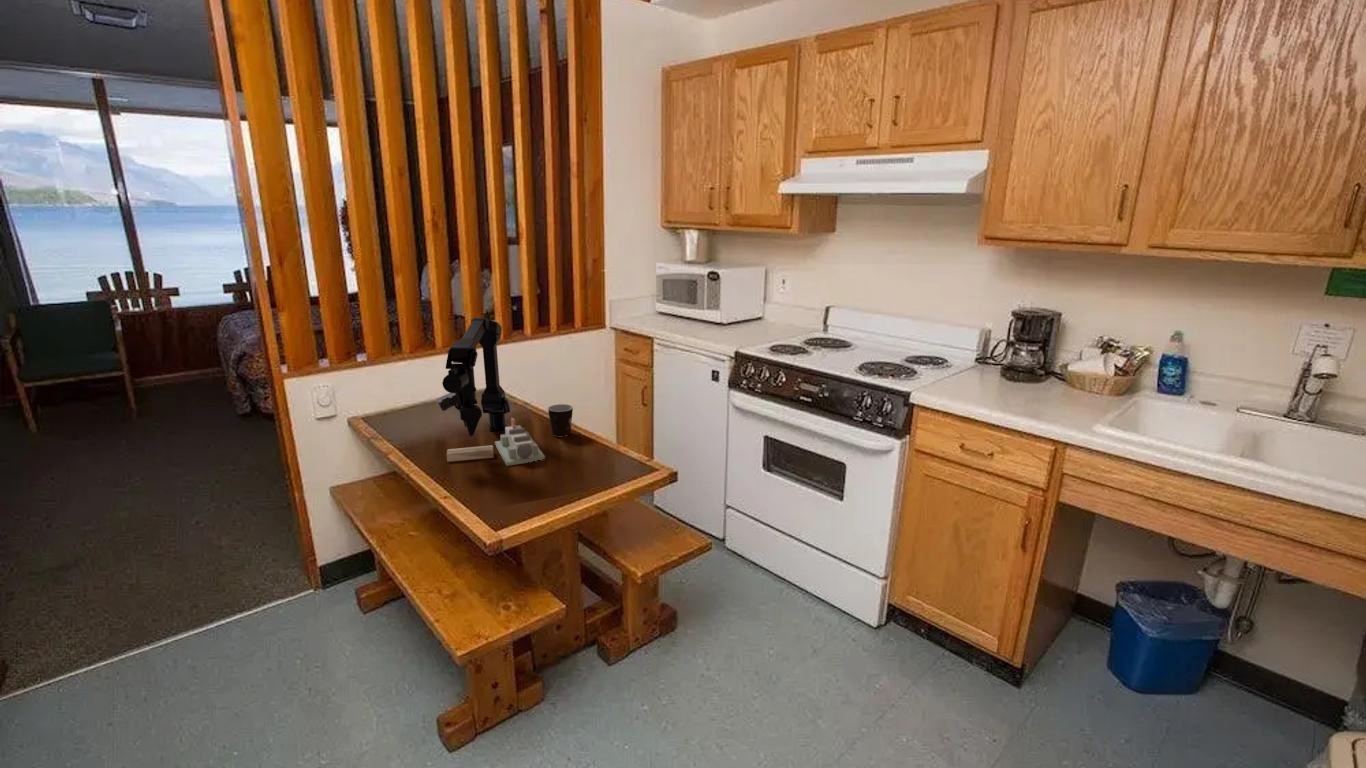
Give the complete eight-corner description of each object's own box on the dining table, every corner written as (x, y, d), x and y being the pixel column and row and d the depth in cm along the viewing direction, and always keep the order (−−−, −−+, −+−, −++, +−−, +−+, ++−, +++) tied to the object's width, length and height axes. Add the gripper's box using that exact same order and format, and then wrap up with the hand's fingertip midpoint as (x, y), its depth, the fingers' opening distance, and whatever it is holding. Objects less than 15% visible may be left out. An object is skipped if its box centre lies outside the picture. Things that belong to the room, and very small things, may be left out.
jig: (495, 444, 206) (493, 419, 204) (530, 439, 212) (529, 414, 209) (507, 467, 188) (505, 439, 186) (545, 460, 194) (544, 433, 191)
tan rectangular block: (448, 458, 195) (447, 449, 195) (493, 453, 200) (492, 445, 199) (447, 462, 192) (446, 453, 191) (493, 458, 196) (493, 449, 195)
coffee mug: (560, 428, 223) (559, 402, 220) (578, 433, 219) (577, 406, 216) (537, 438, 213) (536, 411, 211) (556, 443, 209) (555, 415, 206)
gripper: (434, 379, 194) (438, 425, 198) (440, 394, 178) (445, 444, 182) (470, 376, 199) (474, 421, 203) (480, 390, 183) (483, 439, 187)
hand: (468, 431), depth 193 cm, fingers open, 9 cm apart
